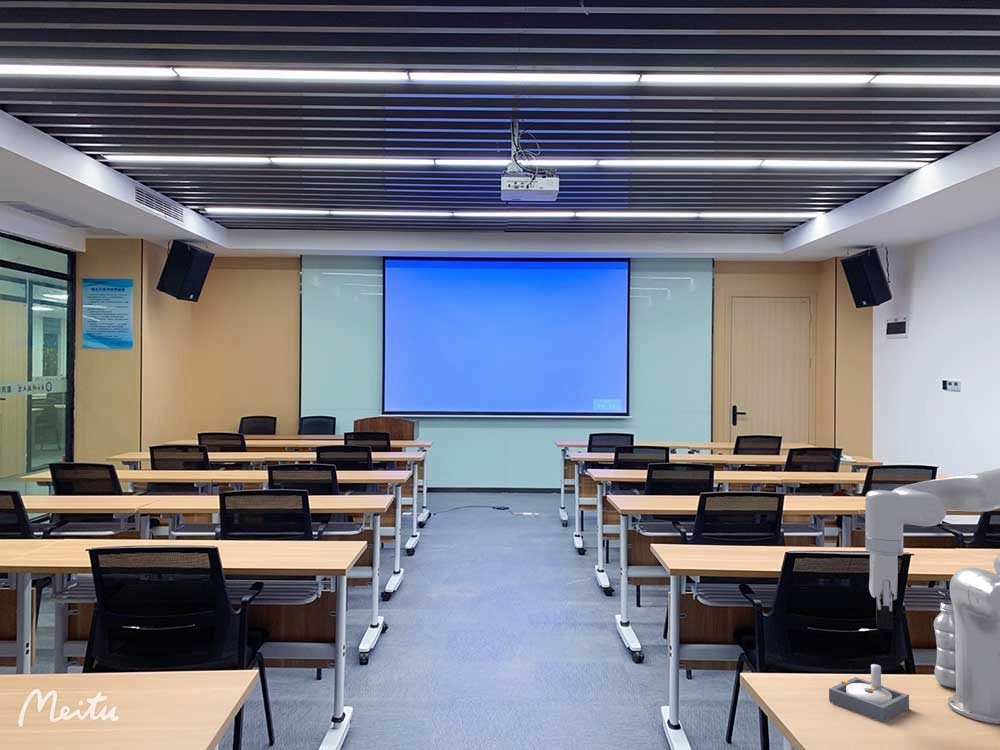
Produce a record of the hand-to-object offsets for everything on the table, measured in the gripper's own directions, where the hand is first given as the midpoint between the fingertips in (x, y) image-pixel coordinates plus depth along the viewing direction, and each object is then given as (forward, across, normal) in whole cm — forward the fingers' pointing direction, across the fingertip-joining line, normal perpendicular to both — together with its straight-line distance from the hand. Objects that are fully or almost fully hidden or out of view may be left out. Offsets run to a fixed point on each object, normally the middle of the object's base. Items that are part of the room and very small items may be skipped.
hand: (884, 627), depth 153 cm
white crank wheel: (+17, -1, -3) cm, 17 cm away
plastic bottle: (+18, -22, +16) cm, 33 cm away
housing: (+18, -1, -3) cm, 19 cm away
